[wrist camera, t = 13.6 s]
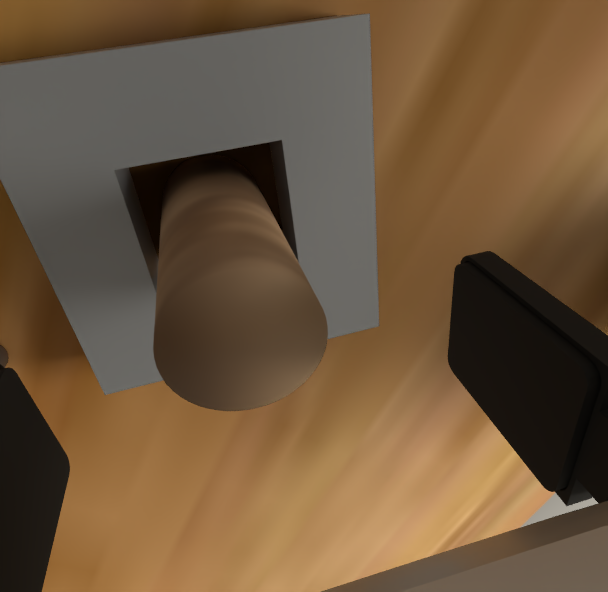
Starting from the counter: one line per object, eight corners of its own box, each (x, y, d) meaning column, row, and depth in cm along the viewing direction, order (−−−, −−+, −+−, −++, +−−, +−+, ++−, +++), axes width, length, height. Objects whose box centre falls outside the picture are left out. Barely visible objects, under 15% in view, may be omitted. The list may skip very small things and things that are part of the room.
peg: (251, 146, 18) (319, 250, 10) (267, 237, 20) (333, 387, 12) (149, 164, 17) (128, 292, 9) (177, 256, 19) (179, 428, 11)
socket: (339, 15, 16) (369, 13, 14) (356, 293, 23) (379, 326, 20) (-14, 64, 15) (-52, 73, 12) (112, 351, 21) (104, 394, 19)
